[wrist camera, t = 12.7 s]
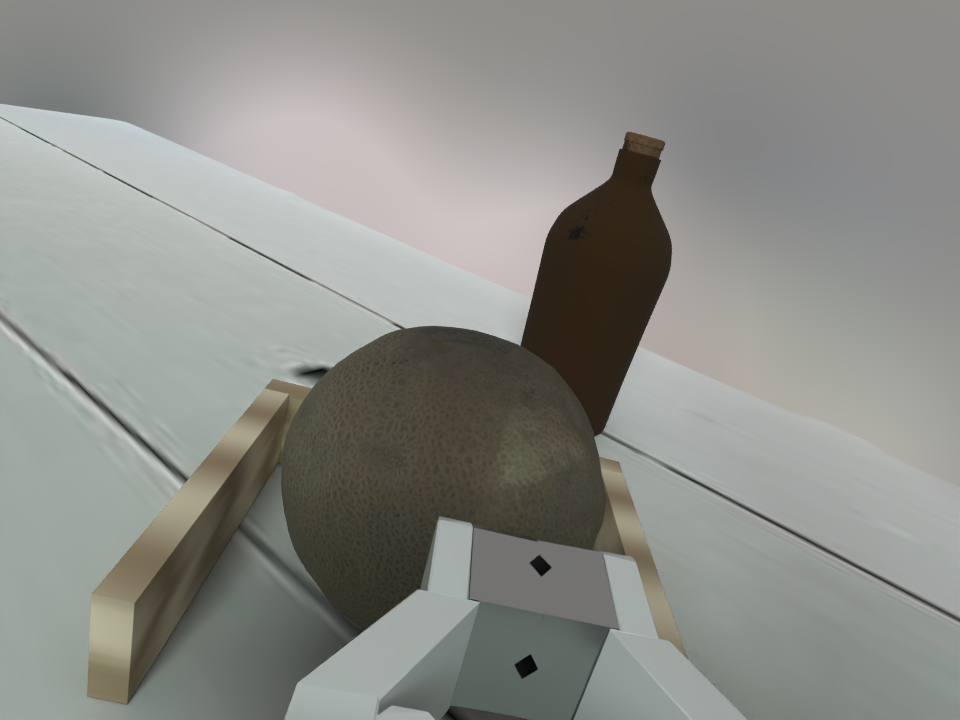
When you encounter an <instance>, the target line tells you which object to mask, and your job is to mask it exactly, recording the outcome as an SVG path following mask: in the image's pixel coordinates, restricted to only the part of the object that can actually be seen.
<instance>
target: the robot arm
mask: <svg viewBox="0 0 960 720" xmlns="http://www.w3.org/2000/svg"><path fill="white" fill-rule="evenodd" d="M450 705H451V706H457V707H463V708H469V709H475V710H481V711H487V712H493V713H500V714H506V715H511V716H515V717H520V718H524V719H528V720H747V719H746V718H745V717H744V716H743V715H742V714H741V713H740V712H739V711H738V710H737V709H736V708H735V707H734V706H733V705H732V704H731V703H730V702H729V701H728V700H727V699H726V698H725V697H724V696H723V695H722V693H721V692H720V691H719V690H718V689H717V688H716V687H715V686H714V685H713V684H712V683H711V682H710V681H709V680H708V679H707V678H706V677H705V676H704V675H703V674H702V673H701V672H700V671H699V670H698V669H697V668H696V667H695V666H694V665H693V664H692V663H691V662H690V661H689V660H688V659H687V658H686V657H685V656H684V655H683V654H682V653H681V652H680V651H679V650H678V649H677V648H676V647H675V646H674V645H673V644H672V643H671V642H670V641H667V640H662V639H659V636H658V633H657V629H656V626H655V623H654V620H653V616H652V613H651V610H650V606H649V603H648V600H647V597H646V593H645V590H644V587H643V583H642V580H641V577H640V574H639V570H638V567H637V564H636V561H635V560H634V559H633V558H632V557H631V556H625V555H620V554H614V553H609V552H603V551H599V552H598V551H593V550H588V549H583V548H578V547H573V546H568V545H563V544H558V543H553V542H548V541H543V540H539V539H536V538H533V537H528V536H524V535H520V534H516V533H511V532H507V531H503V530H499V529H494V528H490V527H486V526H482V525H477V524H471V523H469V522H464V521H459V520H455V519H450V518H445V517H441V516H439V519H438V521H437V524H436V528H435V532H434V536H433V540H432V544H431V548H430V552H429V556H428V560H427V564H426V567H425V571H424V575H423V580H422V584H421V588H420V590H416V591H415V592H413V593H412V594H411V595H410V596H408V597H407V598H406V599H404V600H403V601H402V602H401V603H399V604H398V605H397V606H396V607H394V608H393V609H392V610H390V611H389V612H388V613H387V614H385V615H384V616H383V617H381V618H380V619H379V620H378V621H376V622H375V623H374V624H372V625H371V626H370V627H369V628H367V629H366V630H365V631H363V632H362V633H361V634H360V635H358V636H357V637H356V638H354V639H353V640H352V641H351V642H349V643H348V644H347V645H345V646H344V647H343V648H342V649H340V650H339V651H338V652H337V653H335V654H334V655H333V656H331V657H330V658H329V659H328V660H326V661H325V662H324V663H322V664H321V665H320V666H319V667H317V668H316V669H315V670H313V671H312V672H311V673H310V674H308V675H307V676H306V677H304V678H303V679H302V680H301V681H299V682H298V683H297V685H296V688H295V691H294V694H293V697H292V699H291V702H290V705H289V708H288V710H287V713H286V716H285V719H284V720H440V719H441V718H442V717H443V716H444V714H445V713H446V712H447V710H448V709H449V706H450Z"/></svg>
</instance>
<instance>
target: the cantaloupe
mask: <svg viewBox="0 0 960 720" xmlns="http://www.w3.org/2000/svg"><path fill="white" fill-rule="evenodd" d="M281 486H282V498H283V505H284V512H285V517H286V521H287V526H288V531H289V534H290V538H291V541H292V544H293V546H294V549H295V551H296V553H297V555H298V557H299V559H300V560H301V562H302V563H303V565H304V567H305V569H306V570H307V572H308V573H309V574H310V575H311V577H312V578H313V579H314V581H315V582H316V583H317V585H318V586H319V587H320V589H321V590H322V592H323V593H324V595H325V596H326V597H327V599H328V600H329V601H330V602H331V604H332V605H333V606H334V607H335V608H336V609H337V610H339V611H340V612H341V613H342V614H344V615H345V616H346V617H347V618H349V619H350V620H351V621H353V622H354V623H356V624H357V625H358V626H360V627H361V628H362V629H363V630H366V629H367V628H369V627H370V626H371V625H372V624H374V623H375V622H376V621H378V620H379V619H380V618H381V617H383V616H384V615H385V614H387V613H388V612H389V611H390V610H392V609H393V608H394V607H396V606H397V605H398V604H399V603H401V602H402V601H403V600H404V599H406V598H407V597H408V596H410V595H411V594H412V593H413V592H415V591H416V590H420V588H421V584H422V580H423V575H424V571H425V567H426V564H427V560H428V556H429V552H430V548H431V544H432V540H433V536H434V532H435V528H436V524H437V521H438V519H439V516H441V517H445V518H450V519H455V520H459V521H464V522H469V523H471V524H477V525H482V526H486V527H490V528H494V529H499V530H503V531H507V532H511V533H516V534H520V535H524V536H528V537H533V538H536V539H539V540H543V541H548V542H553V543H558V544H563V545H568V546H573V547H578V548H583V549H588V550H593V547H594V544H595V541H596V538H597V536H598V533H599V531H600V529H601V526H602V524H603V520H604V516H605V505H606V495H605V488H604V483H603V478H602V473H601V466H600V459H599V455H598V450H597V447H596V443H595V439H594V432H593V429H592V427H591V424H590V422H589V419H588V417H587V415H586V413H585V411H584V409H583V406H582V405H581V403H580V401H579V400H578V398H577V397H576V395H575V394H574V393H573V391H572V390H571V389H570V387H569V386H568V385H567V383H566V382H565V381H564V380H563V378H562V377H561V376H560V375H559V374H558V372H557V371H556V370H555V369H554V368H553V367H552V366H550V365H549V364H548V363H546V362H545V361H543V360H542V359H541V358H539V357H538V356H536V355H535V354H533V353H531V352H530V351H528V350H527V349H525V348H524V347H522V346H519V345H517V344H515V343H512V342H509V341H507V340H504V339H501V338H498V337H495V336H492V335H489V334H485V333H482V332H478V331H474V330H468V329H462V328H454V327H442V326H422V327H414V328H408V329H402V330H397V331H394V332H391V333H388V334H386V335H384V336H381V337H379V338H378V339H376V340H374V341H372V342H371V343H369V344H367V345H365V346H364V347H362V348H360V349H358V350H356V351H355V352H353V353H351V354H350V355H349V356H347V357H346V358H345V359H343V360H342V361H340V362H339V363H337V364H336V365H335V366H334V367H333V368H332V369H330V370H329V371H328V372H327V373H326V374H325V375H324V376H323V377H322V378H321V379H320V380H319V381H318V382H317V383H316V384H315V386H314V387H313V388H312V389H311V391H310V392H309V393H308V395H307V396H306V398H305V399H304V401H303V402H302V404H301V405H300V407H299V409H298V410H297V412H296V414H295V416H294V417H293V420H292V422H291V424H290V427H289V429H288V432H287V434H286V439H285V443H284V448H283V457H282V478H281Z"/></svg>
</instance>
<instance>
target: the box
mask: <svg viewBox="0 0 960 720" xmlns="http://www.w3.org/2000/svg"><path fill="white" fill-rule="evenodd" d="M311 389H312V388H308V387H304V386H300V385H296V384H292V383H287V382H283V381H279V380H275V379H272V381H271V382H270V383H269V384H268V385H267V387H266V388H265V389H264V390H263V391H262V392H261V394H260V395H259V396H258V397H257V398H256V400H255V401H254V402H253V403H252V404H251V406H250V407H249V408H248V409H247V410H246V411H245V413H244V414H243V415H242V416H241V417H240V419H239V420H238V421H237V422H236V423H235V425H234V426H233V427H232V428H231V429H230V430H229V432H228V433H227V434H226V435H225V436H224V438H223V439H222V440H221V441H220V442H219V443H218V445H217V446H216V447H215V448H214V449H213V451H212V452H211V453H210V454H209V455H208V457H207V458H206V459H205V460H204V461H203V462H202V464H201V465H200V466H199V467H198V468H197V470H196V471H195V472H194V473H193V474H192V476H191V477H190V478H189V479H188V480H187V481H186V483H185V484H184V485H183V486H182V487H181V489H180V490H179V491H178V492H177V493H176V494H175V496H174V497H173V498H172V499H171V500H170V502H169V503H168V504H167V505H166V506H165V508H164V509H163V510H162V511H161V512H160V513H159V515H158V516H157V517H156V518H155V519H154V521H153V522H152V523H151V524H150V525H149V527H148V528H147V529H146V530H145V531H144V532H143V534H142V535H141V536H140V537H139V538H138V540H137V541H136V542H135V543H134V544H133V546H132V547H131V548H130V549H129V550H128V551H127V553H126V554H125V555H124V556H123V557H122V559H121V560H120V561H119V562H118V563H117V564H116V566H115V567H114V568H113V569H112V570H111V572H110V573H109V574H108V575H107V576H106V578H105V579H104V580H103V581H102V582H101V583H100V585H99V586H98V587H97V588H96V589H95V591H94V592H93V593H92V596H91V620H90V643H89V667H88V691H87V696H89V697H94V698H98V699H103V700H108V701H113V702H118V703H123V704H128V702H129V701H130V699H131V697H132V696H133V694H134V693H135V691H136V689H137V688H138V686H139V685H140V683H141V681H142V680H143V678H144V677H145V675H146V673H147V672H148V670H149V669H150V667H151V665H152V664H153V662H154V661H155V659H156V657H157V656H158V654H159V653H160V651H161V649H162V648H163V646H164V645H165V643H166V641H167V640H168V638H169V637H170V635H171V633H172V632H173V630H174V629H175V627H176V625H177V624H178V622H179V621H180V619H181V617H182V616H183V614H184V613H185V611H186V609H187V608H188V606H189V605H190V603H191V601H192V600H193V598H194V597H195V595H196V593H197V592H198V590H199V589H200V587H201V585H202V584H203V582H204V581H205V579H206V577H207V576H208V574H209V573H210V571H211V569H212V568H213V566H214V565H215V563H216V561H217V560H218V558H219V557H220V555H221V553H222V552H223V550H224V549H225V547H226V545H227V544H228V542H229V541H230V539H231V537H232V536H233V534H234V533H235V531H236V529H237V528H238V526H239V525H240V523H241V521H242V520H243V518H244V517H245V515H246V513H247V512H248V510H249V509H250V507H251V505H252V504H253V502H254V501H255V499H256V497H257V496H258V494H259V493H260V491H261V489H262V488H263V486H264V485H265V483H266V481H267V480H268V478H269V477H270V475H271V473H272V472H273V470H274V469H275V467H276V465H277V464H278V463H280V464H282V457H283V448H284V443H285V439H286V434H287V432H288V429H289V427H290V424H291V422H292V420H293V417H294V416H295V414H296V412H297V410H298V409H299V407H300V405H301V404H302V402H303V401H304V399H305V398H306V396H307V395H308V393H309V392H310V391H311ZM599 459H600V466H601V473H602V478H603V483H604V488H605V495H606V505H605V516H604V520H603V524H602V526H601V529H600V531H599V533H598V536H597V538H596V541H595V544H594V547H593V551H598V552H599V551H603V552H609V553H614V554H620V555H625V556H631V557H632V558H633V559H634V560H635V561H636V564H637V567H638V570H639V574H640V577H641V580H642V583H643V587H644V590H645V593H646V597H647V600H648V603H649V606H650V610H651V613H652V616H653V620H654V623H655V626H656V629H657V633H658V636H659V639H662V640H667V641H670V642H671V643H672V644H673V645H674V646H675V647H676V648H677V649H678V650H679V651H680V652H681V653H682V654H683V655H684V656H685V657H686V658H687V655H686V653H685V650H684V647H683V644H682V641H681V638H680V635H679V633H678V630H677V627H676V624H675V621H674V618H673V615H672V613H671V610H670V607H669V604H668V601H667V598H666V595H665V593H664V590H663V587H662V584H661V581H660V578H659V575H658V573H657V570H656V567H655V564H654V561H653V558H652V555H651V553H650V550H649V547H648V544H647V541H646V538H645V535H644V533H643V530H642V527H641V524H640V521H639V518H638V515H637V513H636V510H635V507H634V504H633V501H632V498H631V495H630V493H629V490H628V487H627V484H626V481H625V478H624V475H623V473H622V470H621V467H620V464H619V462H617V461H613V460H609V459H605V458H601V457H599ZM687 659H688V658H687Z"/></svg>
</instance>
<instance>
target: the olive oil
mask: <svg viewBox="0 0 960 720" xmlns="http://www.w3.org/2000/svg"><path fill="white" fill-rule="evenodd" d="M624 140H625V142H624V145H623V148H622V149H620V150H619V153H618V157H617V160H616V163H615V167H614V171H613V174H612V176H611V178H610V179H609V180H608V181H606V182H605V183H604V184H602V185H601V186H599V187H598V188H596V189H595V190H593V191H591V192H590V193H588V194H587V195H585V196H583V197H582V198H580V199H579V200H577V201H576V202H574V203H573V204H571V205H570V206H568V207H567V208H566V209H565V210H564V211H563V212H562V213H561V214H560V215H559V216H558V218H557V219H556V221H555V223H554V224H553V226H552V227H551V229H550V231H549V233H548V236H547V238H546V242H545V245H544V250H543V254H542V258H541V263H540V267H539V271H538V275H537V280H536V284H535V288H534V292H533V297H532V301H531V305H530V309H529V313H528V317H527V321H526V325H525V329H524V333H523V338H522V342H521V346H522V347H524V348H525V349H527V350H528V351H530V352H531V353H533V354H535V355H536V356H538V357H539V358H541V359H542V360H543V361H545V362H546V363H548V364H549V365H550V366H552V367H553V368H554V369H555V370H556V371H557V372H558V374H559V375H560V376H561V377H562V378H563V380H564V381H565V382H566V383H567V385H568V386H569V387H570V389H571V390H572V391H573V393H574V394H575V395H576V397H577V398H578V400H579V401H580V403H581V405H582V406H583V409H584V411H585V413H586V415H587V417H588V419H589V422H590V424H591V427H592V429H593V432H594V436H596V435H598V434H600V433H601V432H602V431H603V429H604V428H605V425H606V423H607V420H608V418H609V415H610V413H611V410H612V408H613V405H614V403H615V400H616V398H617V395H618V393H619V390H620V388H621V385H622V383H623V380H624V378H625V376H626V373H627V371H628V368H629V366H630V364H631V361H632V359H633V357H634V354H635V352H636V350H637V347H638V345H639V342H640V340H641V338H642V335H643V333H644V331H645V328H646V326H647V324H648V321H649V319H650V316H651V315H652V312H653V310H654V308H655V305H656V303H657V300H658V299H659V296H660V294H661V292H662V289H663V287H664V285H665V282H666V280H667V277H668V275H669V271H670V267H671V256H672V255H671V254H672V245H671V239H670V236H669V233H668V230H667V228H666V226H665V223H664V221H663V219H662V217H661V215H660V212H659V210H658V207H657V205H656V203H655V200H654V198H653V195H652V191H651V186H652V183H653V181H654V178H655V175H656V172H657V170H658V167H659V164H660V162H661V160H659V157H660V154H661V151H662V150H663V149H664V146H665V142H664V141H662V140H658V139H655V138H651V137H648V136H644V135H640V134H636V133H632V132H627V133H626V136H625V139H624Z"/></svg>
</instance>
